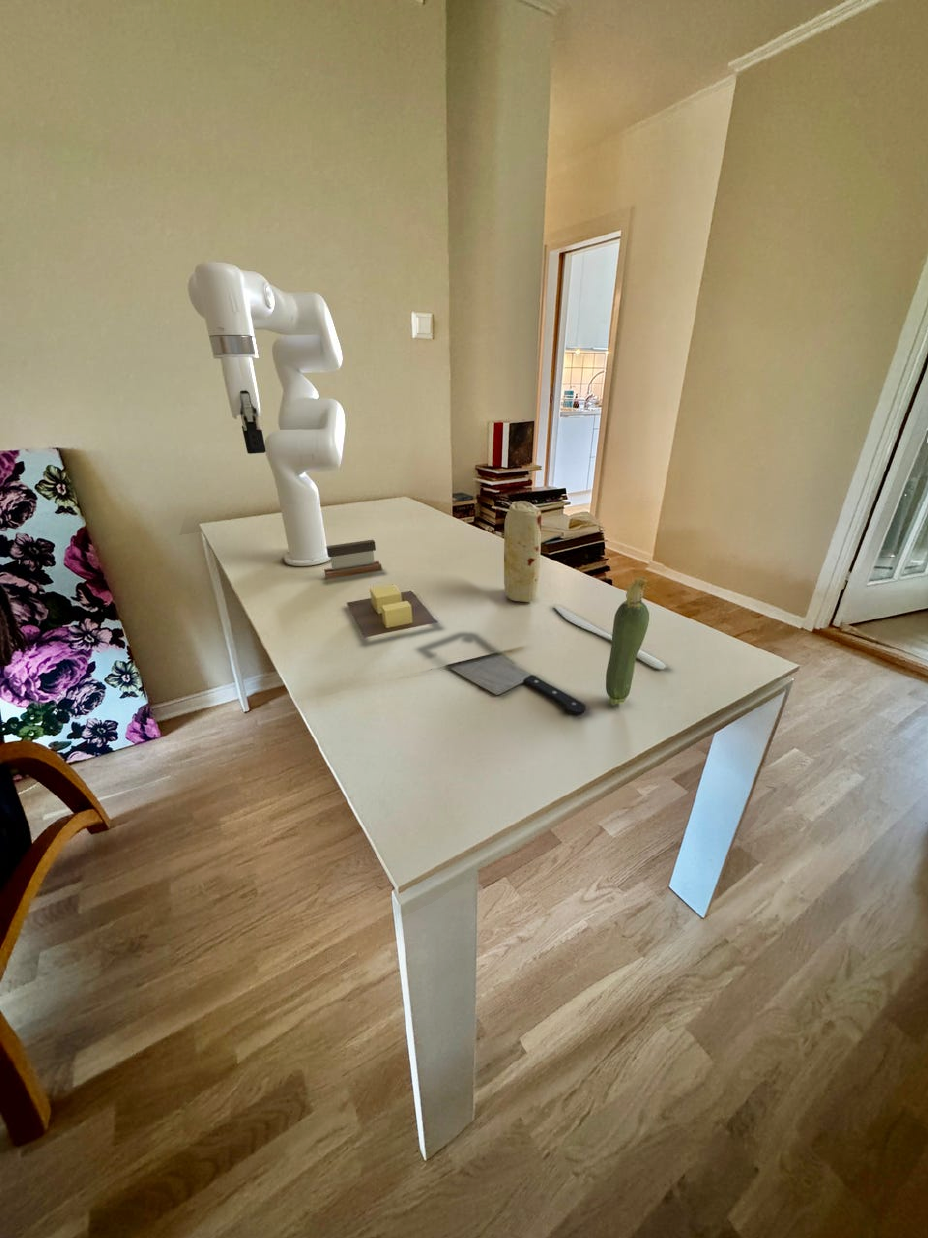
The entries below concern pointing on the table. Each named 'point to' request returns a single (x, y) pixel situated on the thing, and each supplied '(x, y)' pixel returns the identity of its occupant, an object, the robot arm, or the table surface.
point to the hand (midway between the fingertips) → (255, 449)
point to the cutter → (351, 554)
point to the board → (373, 621)
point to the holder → (352, 571)
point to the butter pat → (396, 614)
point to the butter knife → (590, 627)
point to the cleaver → (510, 679)
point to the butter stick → (384, 596)
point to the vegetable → (626, 642)
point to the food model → (522, 551)
